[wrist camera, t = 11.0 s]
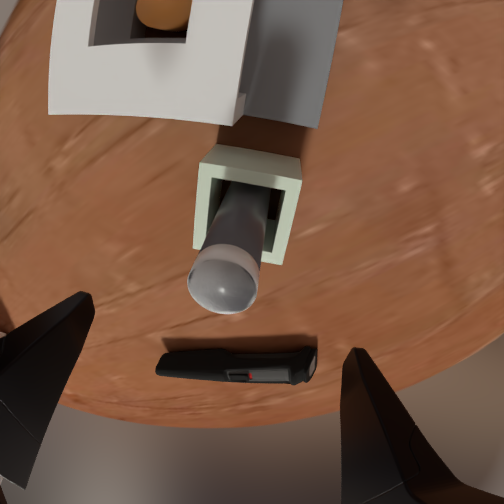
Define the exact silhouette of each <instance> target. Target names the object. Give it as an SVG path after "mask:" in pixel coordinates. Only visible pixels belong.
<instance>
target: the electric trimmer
mask: <svg viewBox="0 0 504 504" xmlns="http://www.w3.org/2000/svg"><path fill="white" fill-rule="evenodd" d="M308 356H309V357H308ZM316 366H317V349H311V347H310V346H306V347H304V348H303V350H302V351H300V352H296V353H271V354H232V353H230V352H228V351H226V350H224V349H213V350H198V351H186V352H171V353H165V354H163V355H162V357H161V358H160V360H159V362H158V364H157V366H156V370H155V372H156V374H157V375H159V376H167V377H177V378H187V379H198V380H211V381H222V382H240V383H285V384H291V385H296V384H298V383H300V382H302V381H304V382H306V383H307V382H309V381H310V379H311V378H312V376H313V374H314V372H315V370H316Z"/></svg>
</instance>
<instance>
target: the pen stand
mask: <svg viewBox="0 0 504 504" xmlns="http://www.w3.org/2000/svg"><path fill="white" fill-rule="evenodd" d="M223 179H225V180H231V181H237V182H243V183H248V184H254V185H259V186H265V187H270V188H275V189H281V195H280V200H279V204H278V209H277V214H276V218H275V220H271V219H267V222H266V230H265V237H264V244H263V251H262V258H261V261H262V262H268V263H273V264H278V265H282V262H283V258H284V254H285V250H286V246H287V242H288V238H289V234H290V230H291V226H292V222H293V218H294V214H295V210H296V206H297V201H298V197H299V193H300V189H301V185H302V173H301V164H300V159H299V158H294V157H289V156H284V155H279V154H274V153H269V152H263V151H257V150H252V149H246V148H240V147H234V146H227V145H220V144H215V146H214V147H213V148H212V149H211V150H210V151H209V152H208V153H207V155H206V156H205V157H204V158H203V159H202V160H201V161H200V163H199V173H198V185H197V196H196V209H195V223H194V237H193V249H199V250H200V249H201V247H202V245H203V243H204V240H205V238H206V236H207V234H208V231H209V229H210V227H211V225H212V223H213V220H214V218H215V216H216V214H217V212H218V209H219V206H220V198H221V190H222V182H223Z"/></svg>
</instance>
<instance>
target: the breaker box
mask: <svg viewBox="0 0 504 504" xmlns="http://www.w3.org/2000/svg"><path fill="white" fill-rule="evenodd" d="M136 4H137V0H57V3H56V9H55V16H54V23H53V31H52V40H51V51H50V65H49V88H48V115H60V114H93V115H123V116H141V117H155V118H167V119H178V120H187V121H196V122H205V123H213V124H220V125H227V126H233V125H234V124H235V123H236V122H237V121H238V120H239V119H240V117H241V116H242V115H247V116H253V117H259V118H265V119H270V120H276V121H281V122H286V123H292V124H296V125H301V126H306V127H311V128H315V129H317V128H318V124H319V119H320V115H321V110H322V105H323V101H324V96H325V91H326V87H327V82H328V77H329V72H330V67H331V62H332V57H333V52H334V47H335V42H336V37H337V31H338V26H339V21H340V15H341V10H342V4H343V0H193V1H192V6H191V12H190V18H189V24H188V30H187V37H186V38H145V33H146V25H145V24H143V23H142V22H141V21H140V20H139V18H138V16H137V13H136Z"/></svg>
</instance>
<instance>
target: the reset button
mask: <svg viewBox="0 0 504 504" xmlns="http://www.w3.org/2000/svg"><path fill="white" fill-rule="evenodd" d="M192 1H193V0H137V4H136V13H137V16H138V18H139V20H140V21H141V22H142V23H143V24H145V25H146V26H148V27H151V28H156V29H160V30H164V31H169V32H181V31H185V30H187V29H188V24H189V18H190V12H191V6H192Z"/></svg>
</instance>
